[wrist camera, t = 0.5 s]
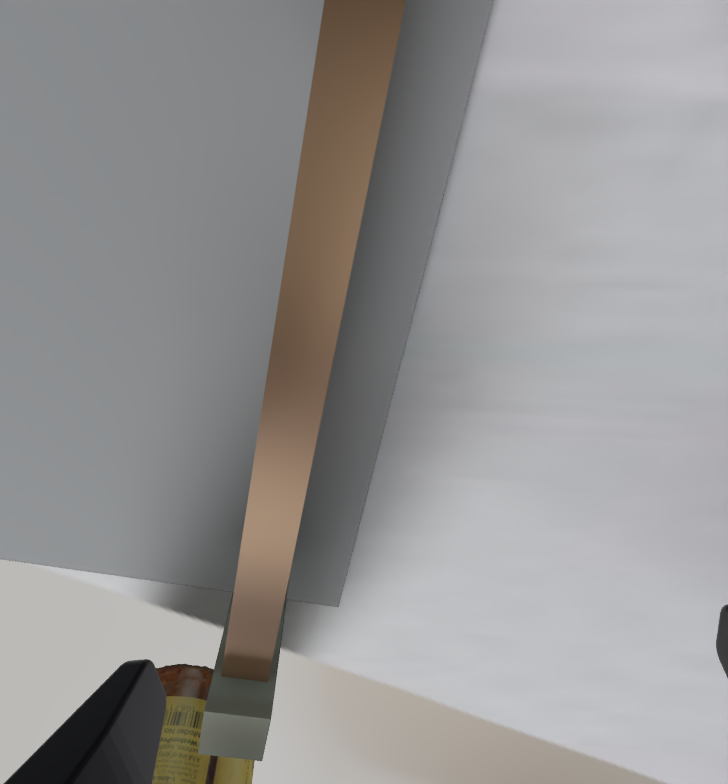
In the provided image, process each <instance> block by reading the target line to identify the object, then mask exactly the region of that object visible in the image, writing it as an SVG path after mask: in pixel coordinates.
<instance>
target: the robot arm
mask: <svg viewBox="0 0 728 784" xmlns="http://www.w3.org/2000/svg"><path fill="white" fill-rule="evenodd" d="M716 649H717V654H718V657H719V660H720V662H721V664H722V667H723V669H724V671H725V673H726V675H727V678H728V605H725V606H724V607H723V608H722V609H721V612H720V619H719V626H718V633H717V640H716ZM166 703H167V702H166V694H165V690H164V688H163V685H162V683H161V681H160V678H159V676H158V673H157V671H156V668H155V666H154V664H153V663H152V662H151V661H150V660H147V659H146V660H135V661H128V662H125V663H124V664H122V665H121V666H120V667H119V668H118V669H117V670H116V671H115V672H114V673H113V674H112V675H111V676H110V677H109V678H108V679H107V680H106V681H105V682H104V683H103V684H102V685H101V686H100V687H99V688H98V689H97V690H96V691H95V692H94V693H93V694H92V695H91V696H90V697H89V698H88V699H87V700H86V701H85V702H84V703H83V704H82V705H81V706H80V707H79V708H78V709H77V710H76V711H75V712H74V713H73V714H72V715H71V716H70V717H69V718H68V719H67V720H66V722H64V724H62V725H61V726H60V727H59V729H57V730H56V732H54V734H53V735H52V736H51V737H50V738H49V739H48V740H47V741H46V742H45V743H44V744H43V745H42V746H41V747H40V748H39V749H38V750H37V751H36V752H35V753H34V754H33V755H32V756H31V757H30V758H29V759H28V760H27V761H26V762H25V763H24V764H23V765H22V766H21V767H20V768H19V769H18V770H17V771H16V772H15V773H14V774H13V775H12V776H11V777H10V778H9V779H8V780H7V781H6V782H5V783H4V784H152V782H153V776H154V771H155V766H156V760H157V755H158V749H159V744H160V739H161V733H162V728H163V723H164V717H165V712H166Z"/></svg>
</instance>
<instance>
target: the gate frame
mask: <svg viewBox="0 0 728 784" xmlns="http://www.w3.org/2000/svg"><path fill="white" fill-rule="evenodd" d="M492 3H493V0H406V2H405V7H404V12H403V17H402V22H401V27H400V32H399V37H398V42H397V47H396V52H395V57H394V62H393V67H392V72H391V76H390V81H389V86H388V91H387V96H386V101H385V106H384V111H383V116H382V121H381V126H380V131H379V136H378V141H377V146H376V151H375V155H374V160H373V165H372V170H371V175H370V180H369V185H368V190H367V195H366V200H365V205H364V210H363V215H362V220H361V225H360V230H359V234H358V239H357V244H356V249H355V254H354V259H353V264H352V269H351V274H350V279H349V284H348V289H347V294H346V299H345V304H344V309H343V314H342V318H341V323H340V328H339V333H338V338H337V343H336V348H335V353H334V358H333V363H332V368H331V373H330V378H329V383H328V388H327V393H326V397H325V402H324V407H323V412H322V417H321V422H320V427H319V432H318V437H317V442H316V447H315V452H314V457H313V462H312V467H311V472H310V477H309V481H308V486H307V491H306V496H305V501H304V506H303V511H302V516H301V521H300V526H299V531H298V536H297V541H296V546H295V551H294V556H293V560H292V565H291V570H290V577H289V585H288V593H287V600H292V601H299V602H306V603H314V604H321V605H328V606H335V607H339V603H340V599H341V595H342V591H343V587H344V583H345V579H346V575H347V571H348V567H349V563H350V559H351V556H352V552H353V548H354V544H355V540H356V536H357V532H358V528H359V524H360V520H361V516H362V512H363V509H364V505H365V501H366V497H367V493H368V489H369V485H370V481H371V477H372V473H373V469H374V465H375V461H376V458H377V454H378V450H379V446H380V442H381V438H382V434H383V430H384V426H385V422H386V418H387V414H388V410H389V407H390V403H391V399H392V395H393V391H394V387H395V383H396V379H397V375H398V371H399V367H400V363H401V360H402V356H403V352H404V348H405V344H406V340H407V336H408V332H409V328H410V324H411V320H412V316H413V312H414V309H415V305H416V301H417V297H418V293H419V289H420V285H421V281H422V277H423V273H424V269H425V265H426V261H427V258H428V254H429V250H430V246H431V242H432V238H433V234H434V230H435V226H436V222H437V218H438V214H439V211H440V207H441V203H442V199H443V195H444V191H445V187H446V183H447V179H448V175H449V171H450V167H451V163H452V160H453V156H454V152H455V148H456V144H457V140H458V136H459V132H460V128H461V124H462V120H463V116H464V113H465V109H466V105H467V101H468V97H469V93H470V89H471V85H472V81H473V77H474V73H475V69H476V65H477V62H478V58H479V54H480V50H481V46H482V42H483V38H484V34H485V30H486V26H487V22H488V18H489V14H490V11H491V7H492ZM323 7H324V0H0V559H2V560H9V561H17V562H24V563H31V564H38V565H45V566H52V567H59V568H66V569H73V570H80V571H87V572H94V573H101V574H108V575H116V576H123V577H130V578H137V579H144V580H151V581H158V582H165V583H172V584H179V585H186V586H193V587H200V588H207V589H215V590H222V591H229V592H233V591H234V587H235V580H236V574H237V567H238V561H239V554H240V548H241V541H242V535H243V528H244V522H245V515H246V509H247V502H248V496H249V489H250V483H251V476H252V470H253V463H254V457H255V450H256V443H257V437H258V430H259V424H260V417H261V411H262V404H263V398H264V391H265V385H266V378H267V372H268V365H269V359H270V352H271V346H272V339H273V333H274V326H275V320H276V313H277V307H278V300H279V294H280V287H281V280H282V274H283V267H284V261H285V254H286V248H287V241H288V235H289V228H290V222H291V215H292V209H293V202H294V196H295V189H296V183H297V176H298V170H299V163H300V157H301V150H302V144H303V137H304V130H305V124H306V117H307V111H308V104H309V98H310V91H311V85H312V78H313V72H314V65H315V59H316V52H317V46H318V39H319V33H320V26H321V20H322V13H323Z"/></svg>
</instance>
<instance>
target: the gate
mask: <svg viewBox="0 0 728 784" xmlns="http://www.w3.org/2000/svg"><path fill="white" fill-rule="evenodd" d="M405 2H406V0H324V7H323V13H322V20H321V26H320V33H319V39H318V46H317V52H316V59H315V65H314V72H313V78H312V85H311V91H310V98H309V104H308V111H307V117H306V124H305V130H304V137H303V144H302V150H301V157H300V163H299V170H298V176H297V183H296V189H295V196H294V202H293V209H292V215H291V222H290V228H289V235H288V241H287V248H286V254H285V261H284V267H283V274H282V280H281V287H280V294H279V300H278V307H277V313H276V320H275V326H274V333H273V339H272V346H271V352H270V359H269V365H268V372H267V378H266V385H265V391H264V398H263V404H262V411H261V417H260V424H259V430H258V437H257V443H256V450H255V457H254V463H253V470H252V476H251V483H250V489H249V496H248V502H247V509H246V515H245V522H244V528H243V535H242V541H241V548H240V554H239V561H238V567H237V574H236V580H235V587H234V591H233V595H232V599H231V603H230V607H229V611H228V615H227V619H226V624H225V628H224V632H223V637H222V640H221V644H220V648H219V652H218V656H217V660H216V665H215V669H214V673H213V677H212V681H211V685H210V689H209V693H208V697H207V701H206V706H205V710H204V715H203V723H202V730H201V737H200V744H199V751H198V754H204V755H213V756H222V757H231V758H239V759H248V760H257V761H262V758H263V754H264V749H265V744H266V740H267V735H268V730H269V726H270V721H271V715H272V707H273V699H274V691H275V684H276V676H277V669H278V661H279V654H280V646H281V638H282V631H283V623H284V615H285V608H286V600H287V593H288V585H289V577H290V570H291V565H292V560H293V556H294V551H295V546H296V541H297V536H298V531H299V526H300V521H301V516H302V511H303V506H304V501H305V496H306V491H307V486H308V481H309V477H310V472H311V467H312V462H313V457H314V452H315V447H316V442H317V437H318V432H319V427H320V422H321V417H322V412H323V407H324V402H325V397H326V393H327V388H328V383H329V378H330V373H331V368H332V363H333V358H334V353H335V348H336V343H337V338H338V333H339V328H340V323H341V318H342V314H343V309H344V304H345V299H346V294H347V289H348V284H349V279H350V274H351V269H352V264H353V259H354V254H355V249H356V244H357V239H358V234H359V230H360V225H361V220H362V215H363V210H364V205H365V200H366V195H367V190H368V185H369V180H370V175H371V170H372V165H373V160H374V155H375V151H376V146H377V141H378V136H379V131H380V126H381V121H382V116H383V111H384V106H385V101H386V96H387V91H388V86H389V81H390V76H391V72H392V67H393V62H394V57H395V52H396V47H397V42H398V37H399V32H400V27H401V22H402V17H403V12H404V7H405Z"/></svg>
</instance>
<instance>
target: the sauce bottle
mask: <svg viewBox="0 0 728 784" xmlns="http://www.w3.org/2000/svg"><path fill="white" fill-rule="evenodd" d="M156 671H157V673H158V676H159V678H160V681H161V683H162V685H163V688H164V690H165V694H166V702H167V703H166V712H165V717H164V723H163V728H162V733H161V739H160V744H159V749H158V755H157V760H156V766H155V771H154V776H153V782H152V784H252V776H253V768H254V760H248V759H239V758H231V757H222V756H213V755H204V754H198V751H199V744H200V737H201V730H202V723H203V715H204V710H205V706H206V701H207V697H208V693H209V689H210V685H211V681H212V677H213V673H214V670H213V669H210V668H208V667H206V666H204V667H200V666H192V665H187V664H177V665H171V666H165V667H162V668H156Z"/></svg>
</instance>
